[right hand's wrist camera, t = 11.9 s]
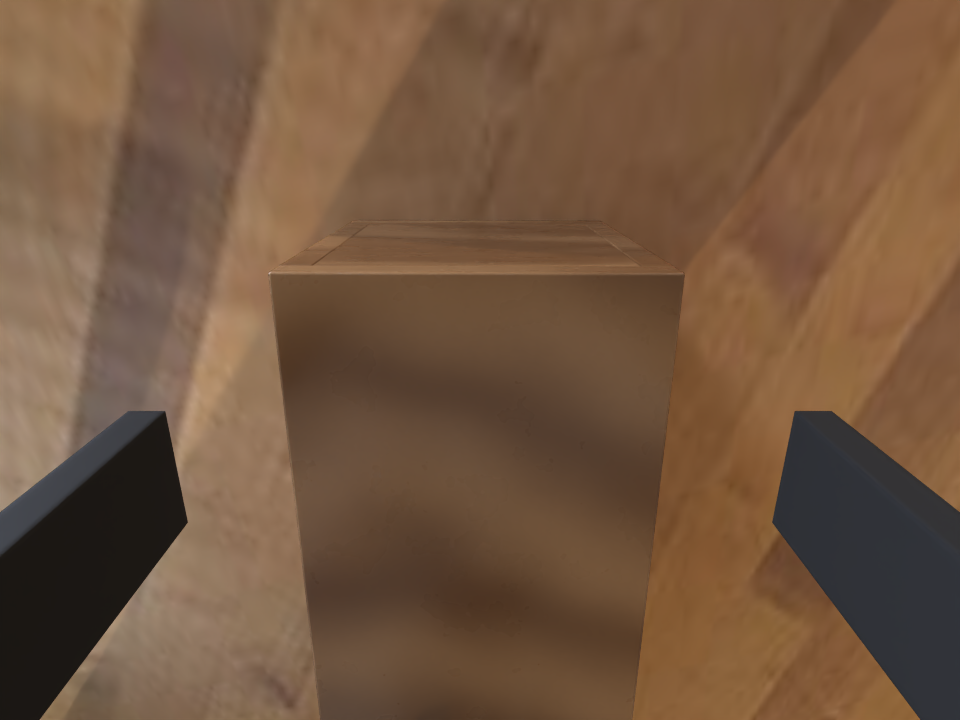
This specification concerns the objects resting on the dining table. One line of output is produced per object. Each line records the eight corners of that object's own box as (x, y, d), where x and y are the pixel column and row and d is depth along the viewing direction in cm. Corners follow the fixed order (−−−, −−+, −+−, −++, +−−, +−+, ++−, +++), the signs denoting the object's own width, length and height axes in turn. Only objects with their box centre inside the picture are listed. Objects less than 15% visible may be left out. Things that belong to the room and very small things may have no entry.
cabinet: (573, 626, 33) (617, 848, 22) (380, 626, 33) (334, 849, 22) (601, 220, 25) (685, 272, 15) (353, 220, 25) (266, 271, 15)
